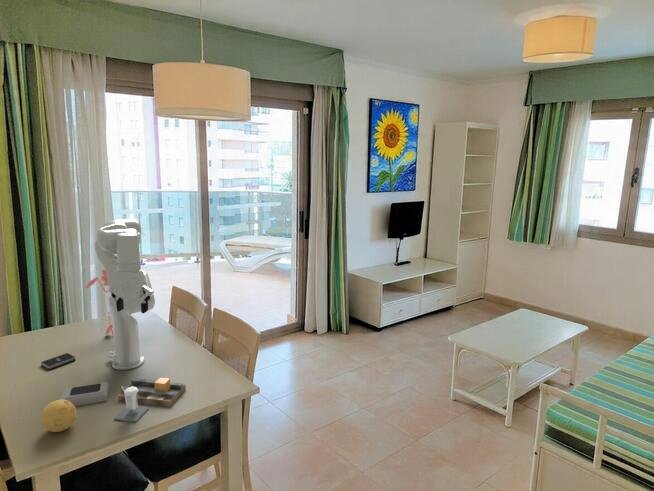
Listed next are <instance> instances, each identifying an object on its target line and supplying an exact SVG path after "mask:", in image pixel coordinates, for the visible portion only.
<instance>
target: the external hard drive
mask: <svg viewBox="0 0 654 491" xmlns="http://www.w3.org/2000/svg"><path fill="white" fill-rule="evenodd" d="M76 359H77V358H76V356H74V355H73V354H72V353H69V352H66V353H63V354H60V355H58V356H55V357H51V358H48V359H45V360H42V361H41V362H40V365H41V367H43V368H45V369H47V370H48V371H52V370H54V369H57V368H59V367H62V366H65V365H68V364H70V363H73V362H75V361H76Z"/></svg>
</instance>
